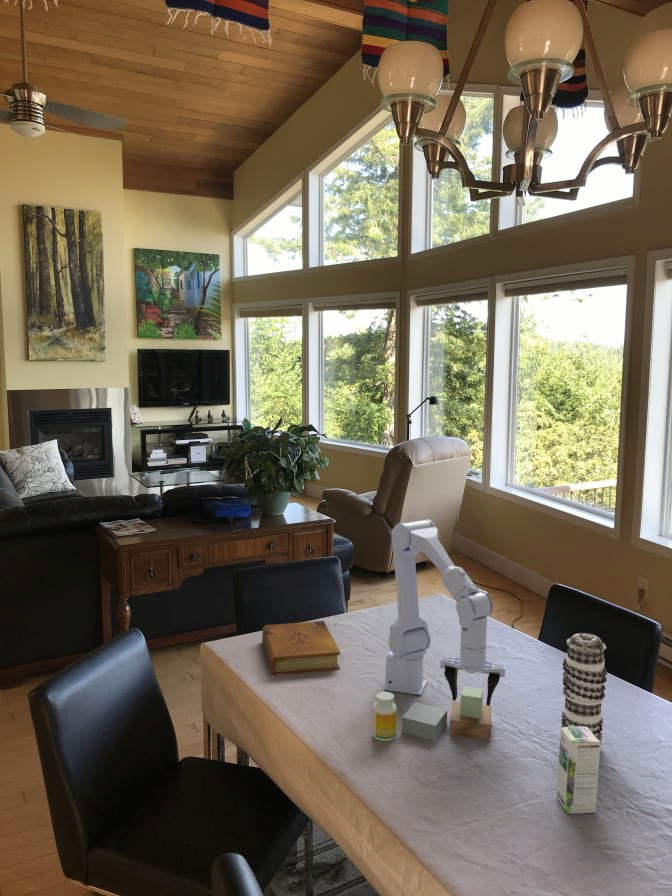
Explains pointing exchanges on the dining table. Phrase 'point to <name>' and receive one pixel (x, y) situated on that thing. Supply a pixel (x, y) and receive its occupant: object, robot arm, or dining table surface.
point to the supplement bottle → (384, 717)
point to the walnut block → (470, 723)
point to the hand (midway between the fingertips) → (471, 701)
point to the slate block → (424, 721)
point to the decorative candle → (584, 683)
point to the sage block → (471, 702)
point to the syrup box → (578, 770)
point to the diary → (300, 647)
